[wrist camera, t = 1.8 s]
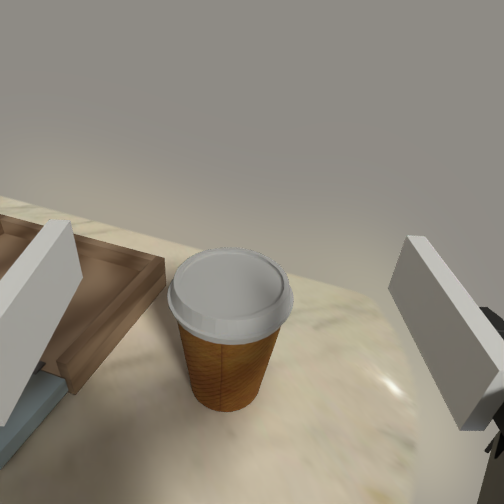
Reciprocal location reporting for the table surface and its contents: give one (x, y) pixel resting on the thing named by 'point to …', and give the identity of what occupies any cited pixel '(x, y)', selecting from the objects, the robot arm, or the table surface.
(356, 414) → the table surface
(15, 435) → the shallow wooden crate
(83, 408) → the table surface
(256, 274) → the disposable coffee cup
